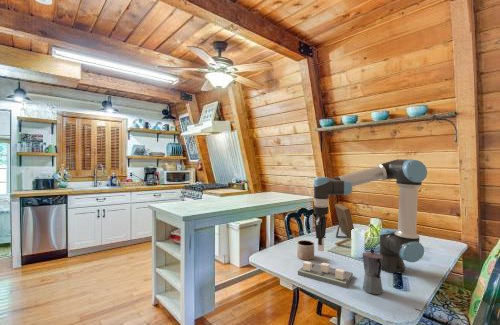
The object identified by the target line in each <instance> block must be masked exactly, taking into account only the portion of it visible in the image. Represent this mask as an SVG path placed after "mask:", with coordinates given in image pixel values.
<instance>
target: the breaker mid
mask: <svg viewBox="0 0 500 325" xmlns="http://www.w3.org/2000/svg"><path fill="white" fill-rule="evenodd" d="M320 265H321V272H325V273H328V272H329V271H330V268H331V267H330V265H331V264H330V263H326V262H322V263H320Z"/></svg>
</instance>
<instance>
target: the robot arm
mask: <svg viewBox="0 0 500 325" xmlns="http://www.w3.org/2000/svg"><path fill="white" fill-rule="evenodd" d="M427 176H428V168H427V167H426V164H424V163H423V162H422V161H420V160H417V159H410V158H409V159H399V158H398V159H392V160H390V161H386V162H383V163H379V164H377V166H375V167H371V168H367V169H363V170H359V171H356V172H351V173H347V174H343V175H340V176H336V177H327V176H316V177H314V179H313V181H314V182H313V199H312V202H313V205H314V206H313V214H315V215H316V219H315V220H314V226H315V236H316V237H315V238H316V239H317V251H320V252H324V251H325V247H324V246H325V239H326V237H327V236H326V233H327V232H326V229H327V222H328V217H326V216H327V215H329V212H330V211H329V206H330V204H329V203H330V202H329V201H330V200H329V197H330V196H346V195H347V196H349V195H350V194H352V191H353V187H356V186H360V185H363V184H367V183H370V182H375V181H378V180H382V181H387V180H396V181H395V182H396V183H395V184H396V185H397V186H398V187H399V188H398V189H399V191H398V213H397V214H398V218H397V228H382V229H380V230H379V253H378V254H379V255H382V257H383V260H382V268H381V271H384V272H387V273H392V274H394V273H393V272H400V273H399V274H401V273H405V272H406V264H405V262H404V261H406V262H408V263H417V262H419V261H420V260H421V259H422V258H423V256H424V254H425V248H424V246H423V244H422V243H421V242H420V235H419V234H418V233H417V223H418V199H419V198H418V196H419V195H418V194H419V188H420V187H422V183H423V181H424V180H425V179H427Z"/></svg>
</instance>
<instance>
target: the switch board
mask: <svg viewBox="0 0 500 325" xmlns="http://www.w3.org/2000/svg"><path fill="white" fill-rule="evenodd" d="M336 269H337V268H333V267H330V271H329V272H328V273H325V272H321V264H317V263H313V262H312V270H311V271H306V270H303V266H302V267H301V268H299V270H297V275H298V276H301V277H304V278H305V277H306V278H309V279H311V280H316V281H319V282H324V283H326V284H327V283H328V284H331V285H335V286H338V287H341V288H345V289H346V288H347V287H348V285H349V284H350V282H351V281H352V278H353V276H354V275H353V274H354V273H353V272H350V271H346V270H345V278H344V279H343V280H341V279H337V278H335V270H336Z"/></svg>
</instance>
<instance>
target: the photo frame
mask: <svg viewBox="0 0 500 325" xmlns="http://www.w3.org/2000/svg"><path fill="white" fill-rule="evenodd" d="M334 208H335V210H336V215H337V220H338V227H337V229H336V233H335V238H337V237H339V236H338V235H339V232H341V233H342V234H344V235H345V236H346V237H347V238H349V239H350V240H352V239H351V230H352V229H354V230H355V227H354V223H353V218H352V213H351V210H350V207H347V206H345V205H343V204H341V203H336V204H334Z"/></svg>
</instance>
